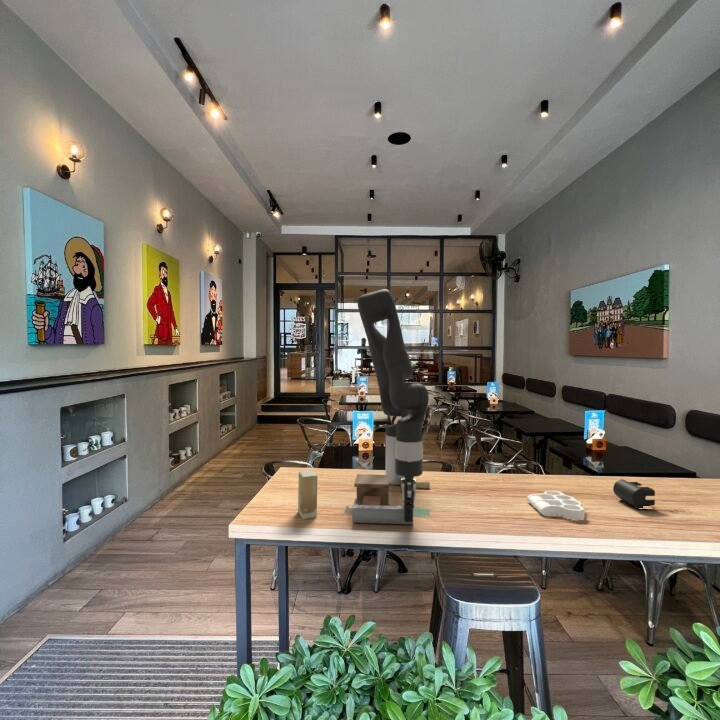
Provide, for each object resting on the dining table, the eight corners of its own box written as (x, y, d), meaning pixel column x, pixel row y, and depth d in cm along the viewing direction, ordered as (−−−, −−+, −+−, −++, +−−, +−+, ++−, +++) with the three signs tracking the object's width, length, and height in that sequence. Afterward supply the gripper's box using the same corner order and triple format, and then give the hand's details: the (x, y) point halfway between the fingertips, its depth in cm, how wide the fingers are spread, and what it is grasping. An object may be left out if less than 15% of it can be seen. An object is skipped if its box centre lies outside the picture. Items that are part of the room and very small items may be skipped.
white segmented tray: (523, 500, 139) (568, 501, 139) (545, 521, 121) (597, 522, 121) (523, 489, 139) (568, 490, 139) (545, 509, 121) (598, 510, 121)
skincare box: (297, 511, 126) (297, 470, 126) (311, 510, 128) (312, 469, 128) (302, 519, 120) (302, 476, 120) (317, 517, 122) (317, 475, 122)
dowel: (400, 481, 150) (400, 480, 152) (400, 488, 149) (400, 487, 152) (429, 482, 149) (429, 481, 151) (429, 489, 149) (429, 488, 151)
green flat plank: (344, 513, 125) (344, 513, 125) (346, 506, 131) (346, 506, 131) (430, 516, 123) (430, 516, 123) (428, 509, 129) (428, 509, 129)
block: (362, 513, 125) (362, 501, 125) (363, 507, 130) (364, 495, 130) (379, 513, 125) (379, 502, 125) (380, 507, 130) (380, 496, 130)
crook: (352, 522, 117) (352, 507, 117) (355, 512, 125) (355, 498, 125) (413, 524, 116) (413, 509, 116) (412, 514, 124) (412, 500, 123)
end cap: (612, 499, 140) (612, 479, 140) (634, 499, 140) (634, 479, 140) (632, 510, 130) (632, 488, 130) (655, 510, 130) (656, 488, 130)
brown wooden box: (354, 514, 125) (354, 483, 125) (356, 502, 135) (357, 474, 135) (388, 515, 124) (388, 484, 124) (388, 503, 134) (389, 475, 134)
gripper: (395, 450, 124) (394, 509, 125) (395, 462, 110) (394, 529, 111) (421, 451, 124) (420, 510, 124) (424, 463, 110) (423, 530, 110)
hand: (408, 519), depth 117 cm, fingers closed on crook, 2 cm apart
